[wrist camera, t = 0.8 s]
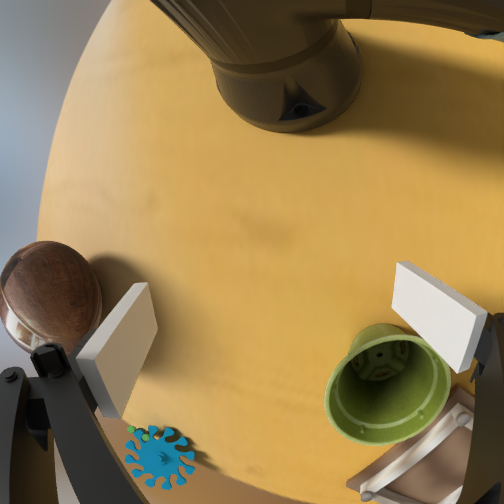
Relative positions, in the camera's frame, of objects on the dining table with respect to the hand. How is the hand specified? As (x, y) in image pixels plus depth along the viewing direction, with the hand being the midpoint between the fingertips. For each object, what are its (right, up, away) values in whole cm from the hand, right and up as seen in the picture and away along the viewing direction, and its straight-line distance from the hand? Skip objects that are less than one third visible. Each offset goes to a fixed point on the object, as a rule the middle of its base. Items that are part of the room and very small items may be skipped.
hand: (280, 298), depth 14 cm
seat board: (+22, -24, +7) cm, 33 cm away
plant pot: (+11, -7, +10) cm, 17 cm away
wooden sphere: (-25, -3, +22) cm, 33 cm away
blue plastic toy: (-13, -25, +19) cm, 34 cm away
